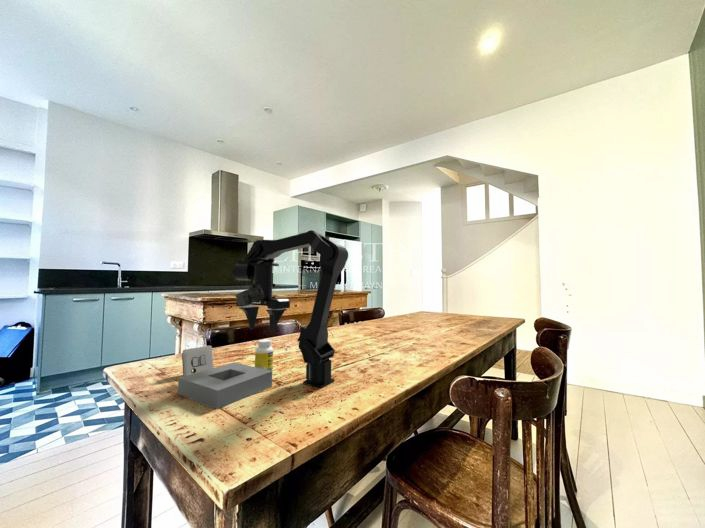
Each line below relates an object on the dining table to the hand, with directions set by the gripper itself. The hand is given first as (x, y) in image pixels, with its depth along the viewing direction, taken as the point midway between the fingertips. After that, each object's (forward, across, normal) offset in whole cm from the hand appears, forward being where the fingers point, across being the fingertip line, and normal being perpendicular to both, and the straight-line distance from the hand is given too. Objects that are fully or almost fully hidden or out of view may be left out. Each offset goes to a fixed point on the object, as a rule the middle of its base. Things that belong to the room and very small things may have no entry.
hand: (261, 330), depth 88 cm
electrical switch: (+13, -15, -12) cm, 23 cm away
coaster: (+14, +25, -18) cm, 33 cm away
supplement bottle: (+13, 0, +1) cm, 13 cm away
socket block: (+13, +4, -14) cm, 20 cm away
